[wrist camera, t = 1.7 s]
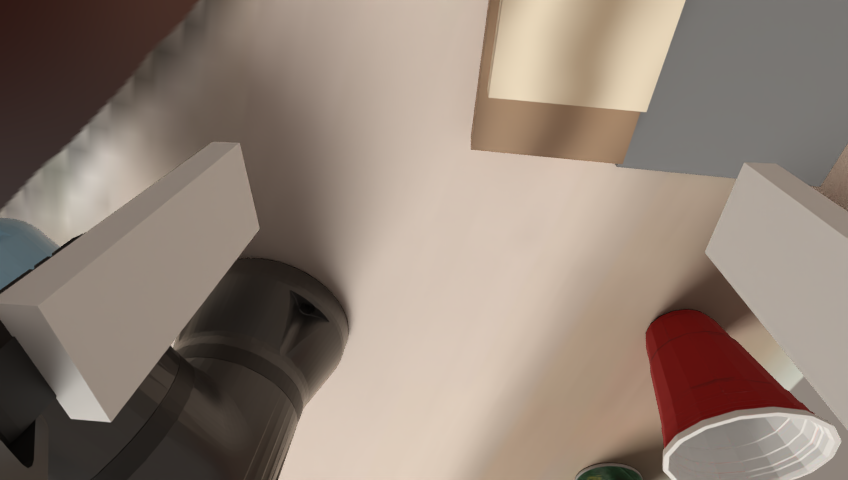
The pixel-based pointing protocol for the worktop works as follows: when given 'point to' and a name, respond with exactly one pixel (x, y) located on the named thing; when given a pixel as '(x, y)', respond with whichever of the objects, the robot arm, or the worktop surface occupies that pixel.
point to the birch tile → (582, 51)
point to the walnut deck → (545, 121)
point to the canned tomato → (609, 472)
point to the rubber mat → (749, 90)
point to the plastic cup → (727, 408)
